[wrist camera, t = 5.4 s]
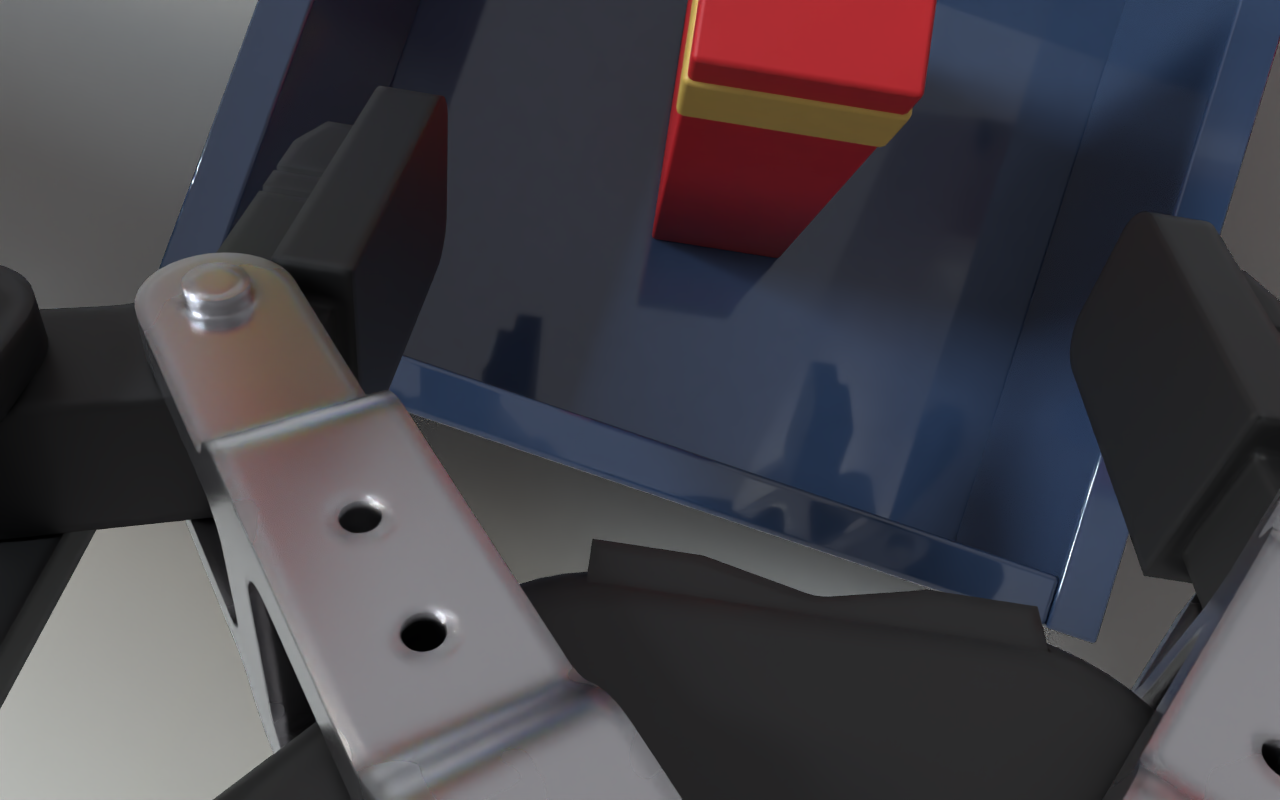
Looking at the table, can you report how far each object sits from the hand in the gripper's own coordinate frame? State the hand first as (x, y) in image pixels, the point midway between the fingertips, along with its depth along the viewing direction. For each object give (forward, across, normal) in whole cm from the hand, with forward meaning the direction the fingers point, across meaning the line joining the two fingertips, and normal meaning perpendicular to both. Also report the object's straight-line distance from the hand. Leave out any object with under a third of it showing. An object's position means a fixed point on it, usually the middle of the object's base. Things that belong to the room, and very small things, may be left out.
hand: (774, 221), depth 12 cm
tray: (+9, 0, +4) cm, 10 cm away
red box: (+9, 0, +3) cm, 9 cm away
